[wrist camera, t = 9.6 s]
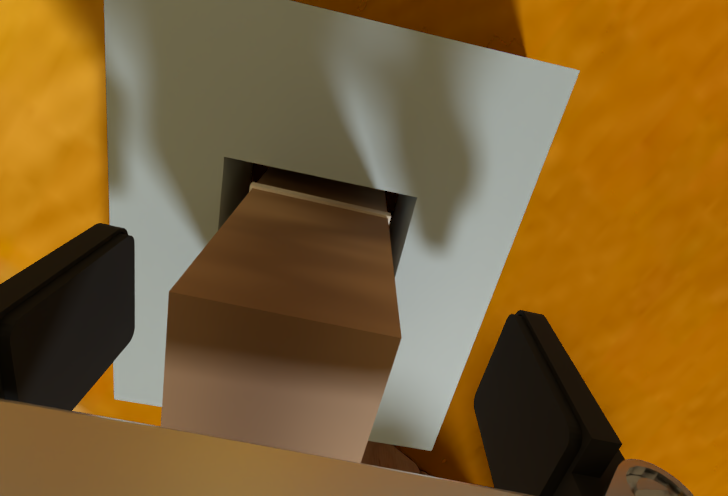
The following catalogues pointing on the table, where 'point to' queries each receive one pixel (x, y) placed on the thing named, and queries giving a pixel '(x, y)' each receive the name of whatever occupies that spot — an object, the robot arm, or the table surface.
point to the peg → (287, 320)
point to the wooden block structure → (388, 458)
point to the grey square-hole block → (324, 162)
